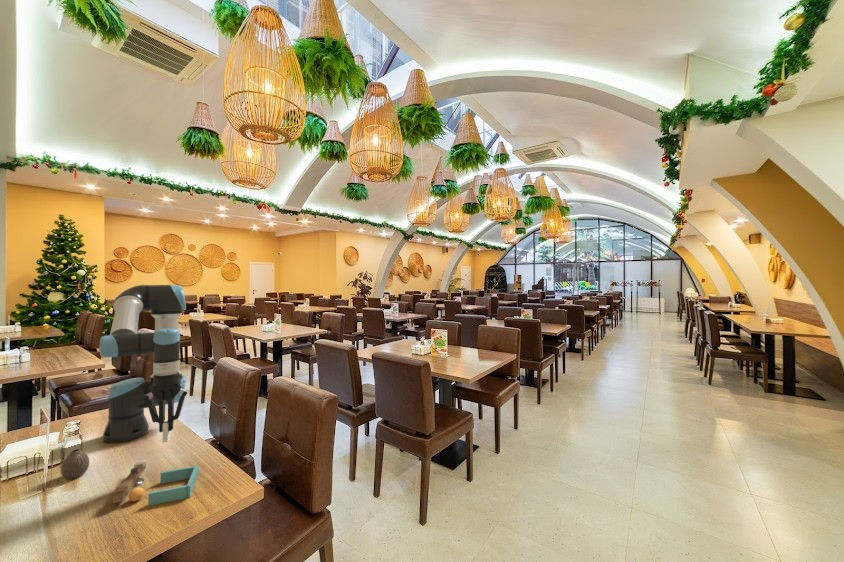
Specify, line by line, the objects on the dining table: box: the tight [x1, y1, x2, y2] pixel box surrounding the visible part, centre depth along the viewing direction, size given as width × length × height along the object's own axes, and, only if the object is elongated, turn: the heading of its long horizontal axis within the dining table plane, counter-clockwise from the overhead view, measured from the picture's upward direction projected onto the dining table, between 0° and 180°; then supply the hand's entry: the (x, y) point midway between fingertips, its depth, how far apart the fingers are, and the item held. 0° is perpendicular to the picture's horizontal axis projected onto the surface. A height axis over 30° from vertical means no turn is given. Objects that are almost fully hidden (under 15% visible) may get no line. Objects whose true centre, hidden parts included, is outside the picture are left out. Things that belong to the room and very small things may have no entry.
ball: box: [128, 487, 145, 502], centre depth 106 cm, size 4×4×4 cm
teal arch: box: [147, 465, 199, 506], centre depth 111 cm, size 13×10×4 cm
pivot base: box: [132, 477, 145, 488], centre depth 114 cm, size 5×5×1 cm
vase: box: [60, 448, 90, 480], centre depth 118 cm, size 7×7×9 cm
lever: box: [112, 459, 147, 504], centre depth 111 cm, size 20×2×4 cm, turn 23°
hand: (166, 440), depth 121 cm, fingers closed
